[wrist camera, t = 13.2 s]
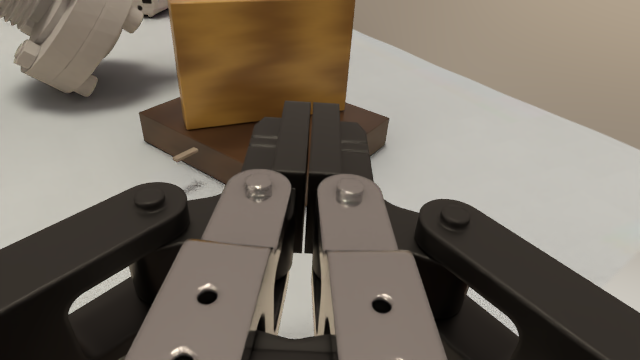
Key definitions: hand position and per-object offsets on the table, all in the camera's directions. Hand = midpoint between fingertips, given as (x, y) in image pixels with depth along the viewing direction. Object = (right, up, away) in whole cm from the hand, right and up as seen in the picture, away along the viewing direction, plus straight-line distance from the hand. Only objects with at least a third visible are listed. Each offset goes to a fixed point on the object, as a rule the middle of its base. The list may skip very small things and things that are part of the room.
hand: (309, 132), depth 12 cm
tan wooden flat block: (-3, +3, +15) cm, 16 cm away
